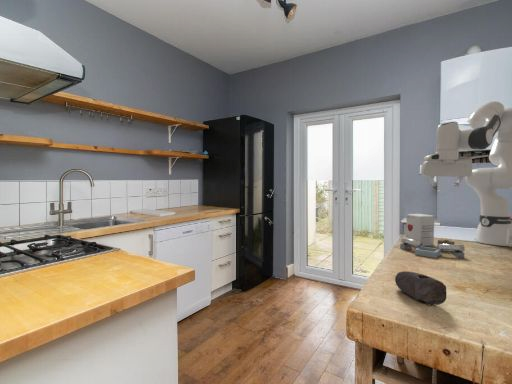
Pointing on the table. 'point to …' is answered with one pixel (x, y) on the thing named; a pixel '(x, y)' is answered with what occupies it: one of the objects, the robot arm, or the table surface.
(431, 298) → the perforated stone tool
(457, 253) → the shaft
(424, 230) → the supplement box
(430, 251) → the housing
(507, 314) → the table surface
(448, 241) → the block
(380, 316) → the table surface
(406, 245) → the shaft
